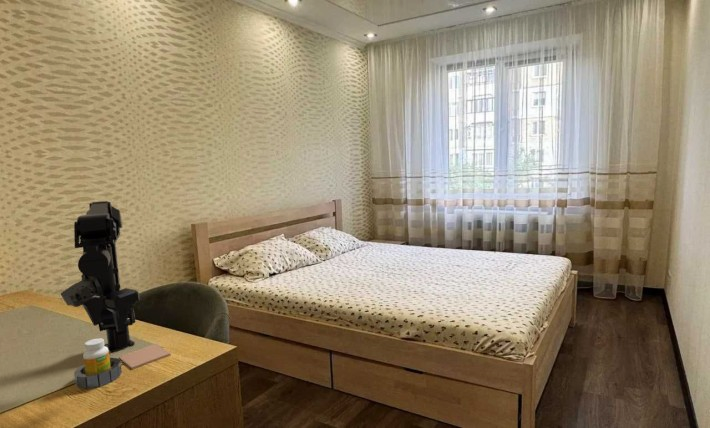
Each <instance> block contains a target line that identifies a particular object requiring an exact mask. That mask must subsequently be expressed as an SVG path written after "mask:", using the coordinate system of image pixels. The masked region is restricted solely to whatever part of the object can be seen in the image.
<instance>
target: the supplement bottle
mask: <svg viewBox="0 0 710 428" xmlns="http://www.w3.org/2000/svg"><path fill="white" fill-rule="evenodd" d="M104 345H105V340H104V338H102V337H100V338H92V339H90V340H87V341H86V342H85V343H84V346H85V347H84V349H85V351H84V352H83V355H82V356H83V357H82V358H83V365H84V366H85V373H86V374H88V375H89V374H95V373H99V372H102V371H105V370H107V369H109V368H110V367H111V365H110V358H111V357H110V351H109V350H108V348H107V347H106V346H104Z"/></svg>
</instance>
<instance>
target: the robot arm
mask: <svg viewBox="0 0 710 428" xmlns="http://www.w3.org/2000/svg"><path fill="white" fill-rule="evenodd" d="M122 221H123V220H122V214H121V210H119V209H117V208H116V207H114V206H112V203H111V201H107V200H104V201H92V202H89V205H88V210H87V212H86V214H84V215H83V214H82V215H79V216H78V217H77V219H76V221H74V223H73V225H74V226H73V227H74V233H73V236H74V238H73V239H74V249H82V250H83V252H82V255H81V256H80V257H79V259H78V263H77V268H78V270H79V271H80V273H81V280H79V281H78V282H76V283H74V284H72V285H71V286H70V287H68V288H65V290H63V291H61V293H60V296H61V297H62V299H63V300H64V303H66V306H72V307H74V308H78V307H80V306H82V307H83V309H84V310H85V312H86V313H87V315H88V318H89V319H90V321H91V322H92V325H93V326H94V327H95V326H98V329H99V332H103V331H105V333H106V340H107V343H104V346H106V347H107V348H108V350H109V353H113V352H115V351H119V350H121V349H125V348H127V347H130V346H133V345H134V346H135V341H133V340H132V339H131V338H130V331H129V326H133V324H135V323H136V315H135V310H134V308H133V306H134V305H135V304H137V302H139V301H140V292H139V291H137V290H136V289H133V288H127V287H125V288H122V289H121V283H120V273H119V264H118V262H119V261H118V255H117V254H118V252H117V244H116V243H117V241H118V240H119V238H120V236H121V229H122V228H123V222H122Z"/></svg>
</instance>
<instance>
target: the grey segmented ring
mask: <svg viewBox="0 0 710 428" xmlns="http://www.w3.org/2000/svg"><path fill="white" fill-rule="evenodd" d="M110 365H111V367H110V368H109V369H107V370H105V371H102V372H99V373H95V374H89V375H88V374H86V373H85V366H84V364H83V365H81V366H79V367H77V369H75V371H74V372H73V376H74V382H75V386H76V387H77V388H78V389H82V390H83V389H84V390H90V389H95V388H96V389H97V388H100V387H103V386H105V385H108V384H110V383H113V382H114V381H115V380H117V379H119V378H120V376H121V375H122V373H123V371H122V362H121V360H120V359H119V357H110Z"/></svg>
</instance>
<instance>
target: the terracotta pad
mask: <svg viewBox="0 0 710 428" xmlns="http://www.w3.org/2000/svg"><path fill="white" fill-rule="evenodd" d="M171 355H172V354H171V352H169V351H168V350H166V349H165V348H164V347H162V346H160V345H159V344H157V343H154V344H150V345H149V346H145V347H143V348H140V349H137V350H134V351H131V352H128V353H125V354H122V355H119V356H118V359H119V360H120V359H121V360H122V363H124V364H125V365H126V366H127V367H129V368H130V369H131V370H134V369H137V368H140V367H142V366H144V365H147V364H148V365H149V364H151V363H153V362H156V361H159V360H161V359H163V358H164V359H165V358H167V357H169V356H171ZM121 360H120V361H121Z"/></svg>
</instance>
